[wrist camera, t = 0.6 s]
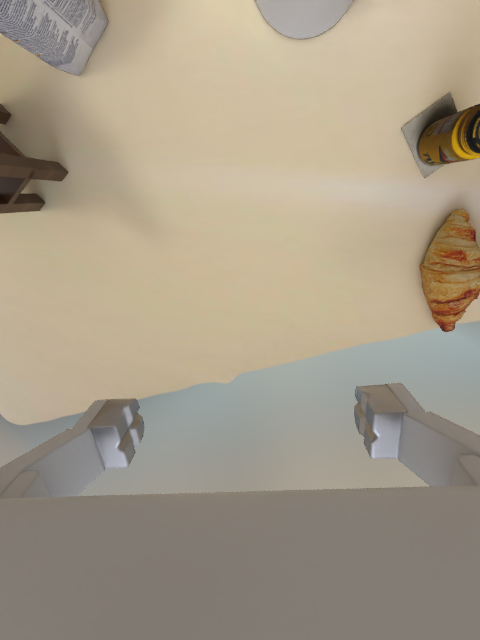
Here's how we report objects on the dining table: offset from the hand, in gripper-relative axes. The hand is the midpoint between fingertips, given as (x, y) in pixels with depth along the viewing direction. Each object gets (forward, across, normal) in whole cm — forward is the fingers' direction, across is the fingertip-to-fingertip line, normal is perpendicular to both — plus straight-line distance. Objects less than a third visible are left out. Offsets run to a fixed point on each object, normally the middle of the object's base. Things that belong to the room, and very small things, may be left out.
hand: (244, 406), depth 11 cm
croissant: (+45, -34, +8) cm, 57 cm away
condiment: (+44, -29, -13) cm, 55 cm away
